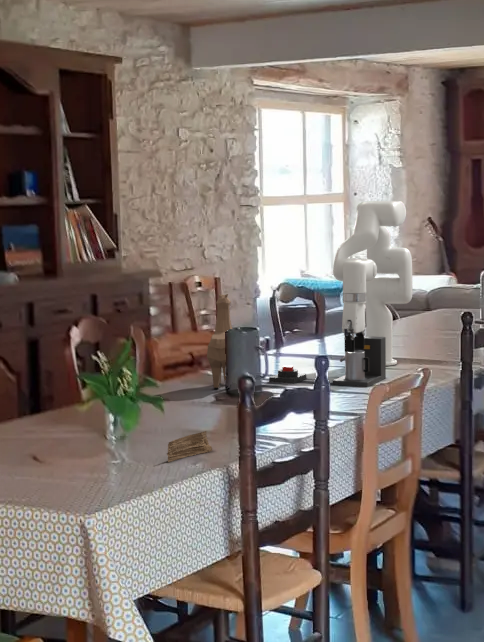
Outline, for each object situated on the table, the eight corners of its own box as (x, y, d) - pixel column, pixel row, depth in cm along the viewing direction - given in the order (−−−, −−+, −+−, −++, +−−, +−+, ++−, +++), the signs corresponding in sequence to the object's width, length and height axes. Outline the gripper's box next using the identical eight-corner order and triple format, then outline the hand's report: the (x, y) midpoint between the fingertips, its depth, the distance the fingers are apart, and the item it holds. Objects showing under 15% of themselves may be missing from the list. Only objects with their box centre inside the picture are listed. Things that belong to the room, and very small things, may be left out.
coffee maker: (351, 376, 400) (351, 335, 399) (385, 378, 395) (385, 337, 394) (332, 384, 383) (332, 342, 382) (367, 387, 378) (367, 344, 377)
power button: (284, 370, 396) (284, 365, 396) (294, 371, 394) (294, 365, 394) (280, 372, 393) (280, 366, 393) (290, 372, 391) (290, 367, 391)
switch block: (281, 377, 401) (281, 367, 400) (306, 378, 397) (306, 368, 396) (269, 382, 391) (269, 371, 391) (294, 383, 387) (294, 373, 387)
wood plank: (172, 463, 277) (172, 442, 277) (165, 462, 279) (165, 441, 278) (212, 451, 289) (212, 431, 289) (205, 450, 291) (205, 430, 290)
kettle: (343, 376, 390) (343, 349, 389) (372, 377, 386) (371, 350, 385) (336, 379, 385) (336, 351, 384) (365, 380, 380) (365, 353, 379)
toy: (238, 381, 393) (237, 292, 390) (234, 392, 373) (233, 298, 370) (212, 381, 394) (211, 293, 391) (207, 392, 374) (205, 298, 371)
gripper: (352, 296, 392) (352, 346, 393) (334, 300, 376) (334, 353, 378) (373, 296, 388) (374, 347, 390) (356, 300, 373) (356, 354, 374)
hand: (354, 350), depth 384 cm, fingers open, 9 cm apart
